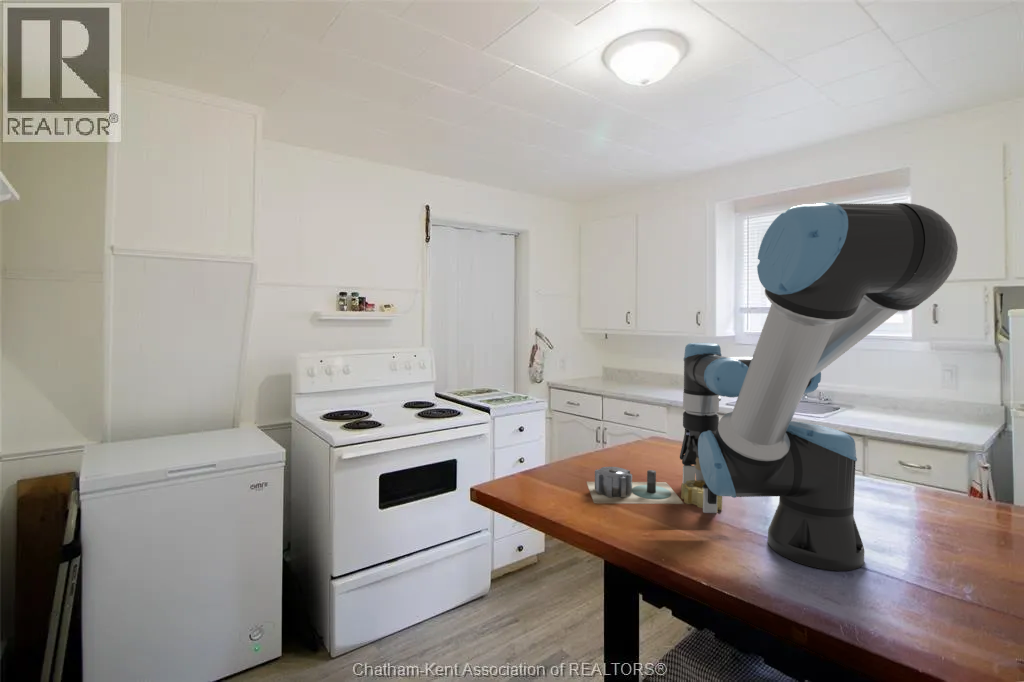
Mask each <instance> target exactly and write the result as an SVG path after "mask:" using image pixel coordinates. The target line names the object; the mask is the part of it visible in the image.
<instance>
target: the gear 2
mask: <svg viewBox="0 0 1024 682" xmlns="http://www.w3.org/2000/svg"><path fill="white" fill-rule="evenodd" d="M703 485H705V481H703V480H696V479H695V480H689V481H686V483H685V484H684V483H683V482H682V483H681V489H680V490H681V491H680V493H681V494H680V499H681V500H684V501H683V503H684V504H686V505H694V506H697V508H701V509H703V488H702V486H703ZM718 510H721V511H722V510H723V496H718V495H717V513H718V512H719V511H718ZM717 513H716V514H717Z"/></svg>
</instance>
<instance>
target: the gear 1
mask: <svg viewBox="0 0 1024 682" xmlns="http://www.w3.org/2000/svg"><path fill="white" fill-rule="evenodd" d="M610 469H616V470H618V472H615V473H613V472H609V470H610ZM594 482H595V489H596V492H597V493H598V494H602V495H605V496H607V497H626V495H627V494H631V493H632V482H633V474H632V473H631V470H629V469H625V468H623V467H619V466H603V467H600V468H599V469H597V468H596V469H595V470H594Z"/></svg>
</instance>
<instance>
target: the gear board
mask: <svg viewBox="0 0 1024 682" xmlns="http://www.w3.org/2000/svg"><path fill="white" fill-rule="evenodd" d="M609 472H613V473H615V472H618V470H616V469H610V470H609ZM586 485H587V488H588V490H589V493H590V496H591V498H592V502H593V504H624V505H625V504H628V505H629V504H634V505H635V504H636V505H637V504H641V505H642V504H643V505H645V504H647V505H648V504H650V505H653V504H654V505H660V504H661V505H684V504H685V503H684V501H682V500H683V499H681V497H679V496H678V494H677V493H676V492H675V491H674V490H673V489H672V487H671V486H670V484H668V483H667V482H665V481H657V471H656V470H655V469H654V470H653V469H647V472H646V481H632V493H631V494H627V495H626V497H607V496H605V495H602V494H598V493H597V492H596V489H595V481H586Z"/></svg>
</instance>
